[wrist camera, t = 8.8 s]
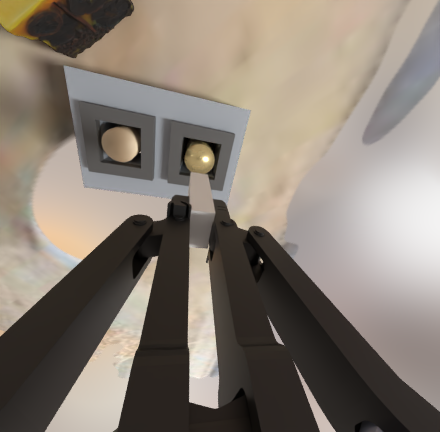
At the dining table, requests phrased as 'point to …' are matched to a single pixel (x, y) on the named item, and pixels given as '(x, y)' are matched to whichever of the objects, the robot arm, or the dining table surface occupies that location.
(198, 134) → the socket block
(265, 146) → the dining table surface
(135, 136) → the beech peg
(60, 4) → the candle
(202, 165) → the brass peg
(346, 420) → the robot arm
